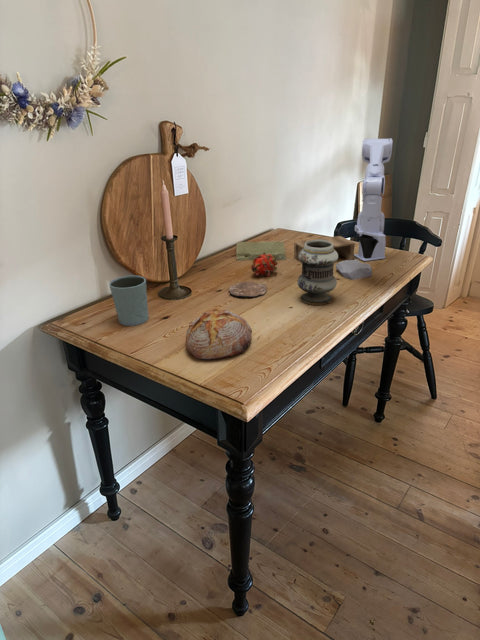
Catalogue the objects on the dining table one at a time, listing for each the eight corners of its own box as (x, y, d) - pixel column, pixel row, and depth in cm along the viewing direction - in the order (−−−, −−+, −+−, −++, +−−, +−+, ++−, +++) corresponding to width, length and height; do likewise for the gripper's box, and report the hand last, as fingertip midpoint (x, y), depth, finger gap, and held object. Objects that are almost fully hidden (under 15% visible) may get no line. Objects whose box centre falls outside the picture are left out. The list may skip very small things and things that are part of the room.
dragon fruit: (277, 274, 174) (256, 288, 167) (262, 258, 176) (240, 271, 169) (286, 260, 167) (264, 273, 160) (270, 243, 169) (248, 256, 162)
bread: (173, 359, 119) (167, 323, 114) (210, 327, 135) (206, 294, 130) (231, 369, 112) (227, 331, 108) (263, 333, 128) (260, 299, 124)
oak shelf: (338, 251, 191) (339, 235, 188) (354, 259, 181) (355, 243, 179) (293, 257, 186) (294, 241, 183) (306, 266, 176) (307, 249, 173)
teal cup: (155, 321, 136) (150, 282, 131) (121, 330, 132) (115, 290, 127) (143, 309, 144) (138, 272, 139) (111, 317, 140) (104, 279, 135)
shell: (266, 300, 149) (266, 289, 148) (226, 299, 151) (226, 289, 149) (267, 286, 160) (267, 276, 158) (230, 286, 161) (230, 276, 159)
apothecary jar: (314, 310, 140) (316, 251, 133) (289, 297, 149) (289, 242, 142) (344, 300, 146) (347, 243, 138) (317, 289, 155) (320, 235, 148)
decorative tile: (236, 248, 201) (236, 240, 199) (283, 247, 200) (284, 239, 199) (234, 262, 184) (234, 254, 183) (286, 261, 183) (286, 253, 182)
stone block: (350, 285, 162) (374, 276, 165) (348, 273, 160) (373, 263, 162) (332, 276, 172) (355, 267, 175) (330, 264, 170) (353, 255, 173)
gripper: (347, 213, 154) (345, 253, 160) (372, 222, 141) (369, 265, 147) (366, 210, 156) (363, 250, 162) (393, 220, 143) (388, 262, 149)
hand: (367, 257), depth 155 cm, fingers closed
